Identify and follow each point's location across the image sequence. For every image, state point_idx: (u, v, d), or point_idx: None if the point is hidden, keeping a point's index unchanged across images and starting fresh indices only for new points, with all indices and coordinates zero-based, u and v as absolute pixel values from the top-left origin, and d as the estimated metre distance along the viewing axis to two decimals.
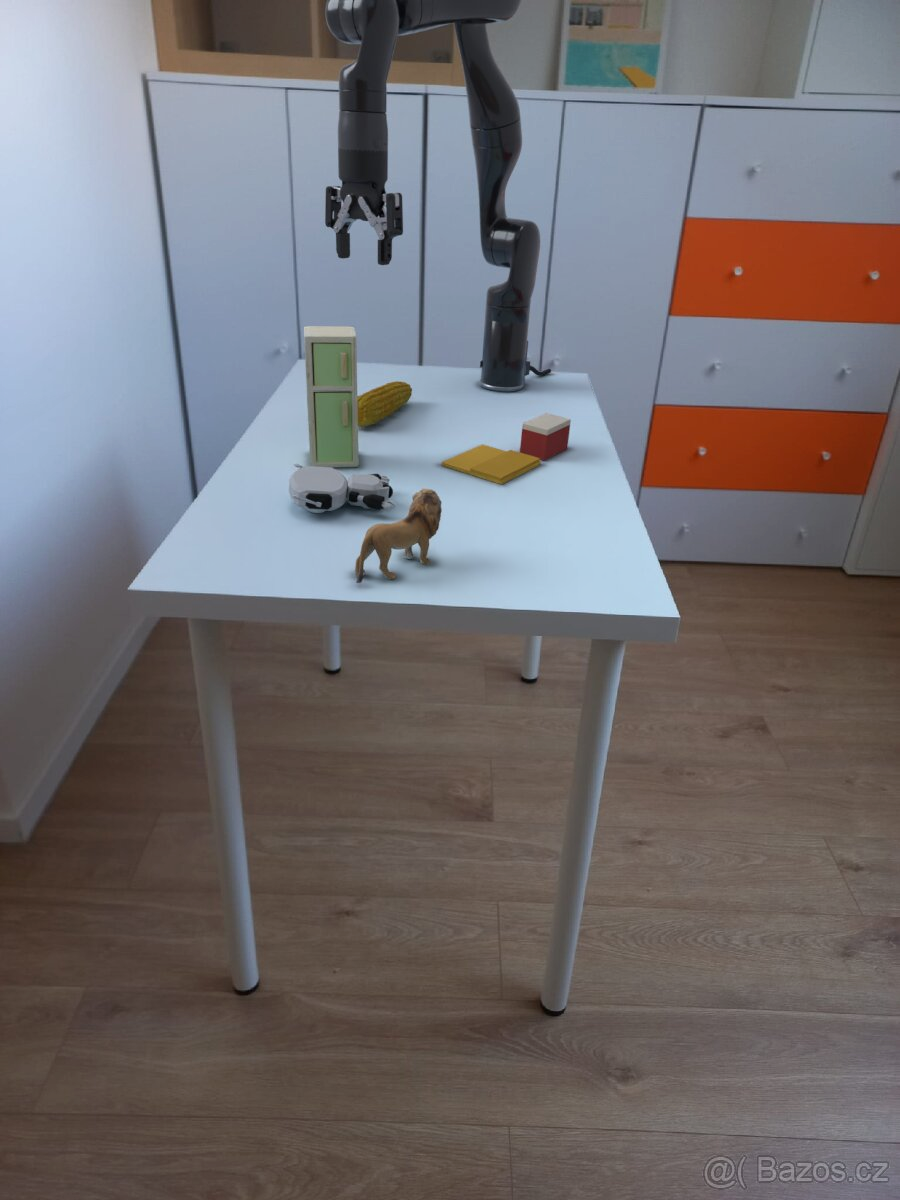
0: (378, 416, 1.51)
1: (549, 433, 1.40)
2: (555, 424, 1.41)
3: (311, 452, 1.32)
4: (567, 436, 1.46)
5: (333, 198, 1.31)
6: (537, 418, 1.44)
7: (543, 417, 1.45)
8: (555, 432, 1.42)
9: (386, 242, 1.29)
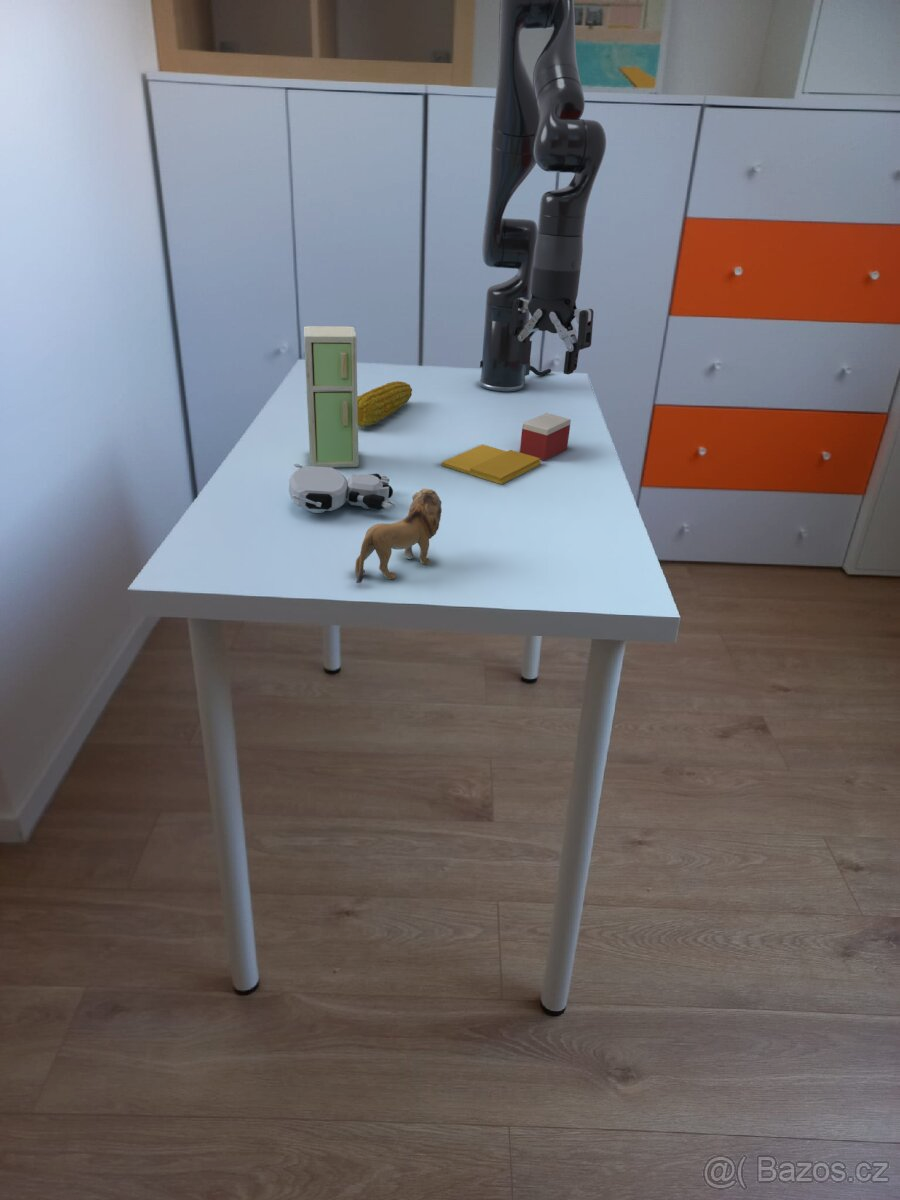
0: (378, 416, 1.51)
1: (549, 433, 1.40)
2: (555, 424, 1.41)
3: (311, 452, 1.32)
4: (567, 436, 1.46)
5: (520, 310, 1.36)
6: (537, 418, 1.44)
7: (543, 417, 1.45)
8: (555, 432, 1.42)
9: (574, 354, 1.34)
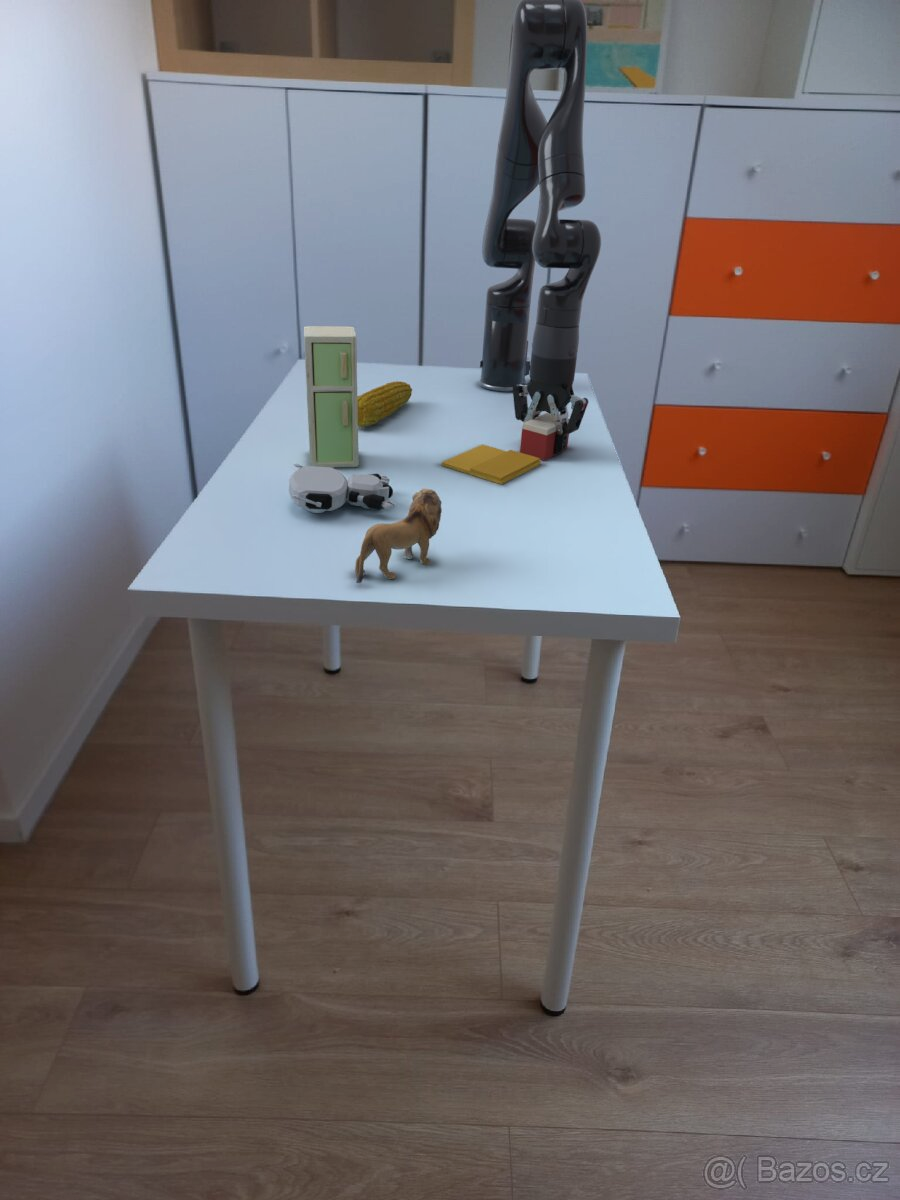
0: (378, 416, 1.51)
1: (549, 433, 1.40)
2: None
3: (311, 452, 1.32)
4: (567, 436, 1.46)
5: (521, 394, 1.43)
6: (537, 418, 1.44)
7: (543, 417, 1.45)
8: (555, 432, 1.42)
9: (563, 436, 1.42)
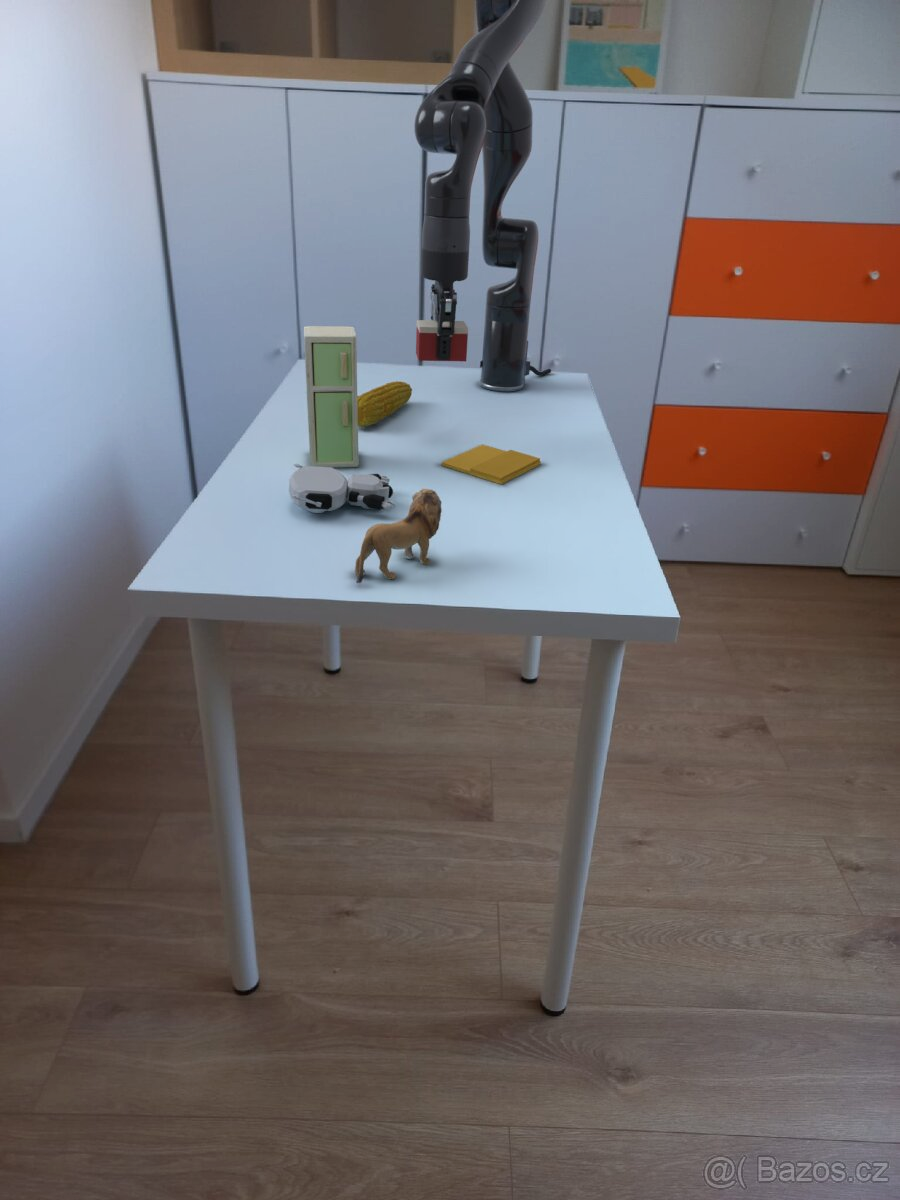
0: (378, 416, 1.51)
1: (424, 332, 1.35)
2: None
3: (311, 452, 1.32)
4: (463, 346, 1.37)
5: None
6: None
7: None
8: (436, 334, 1.36)
9: (441, 339, 1.35)
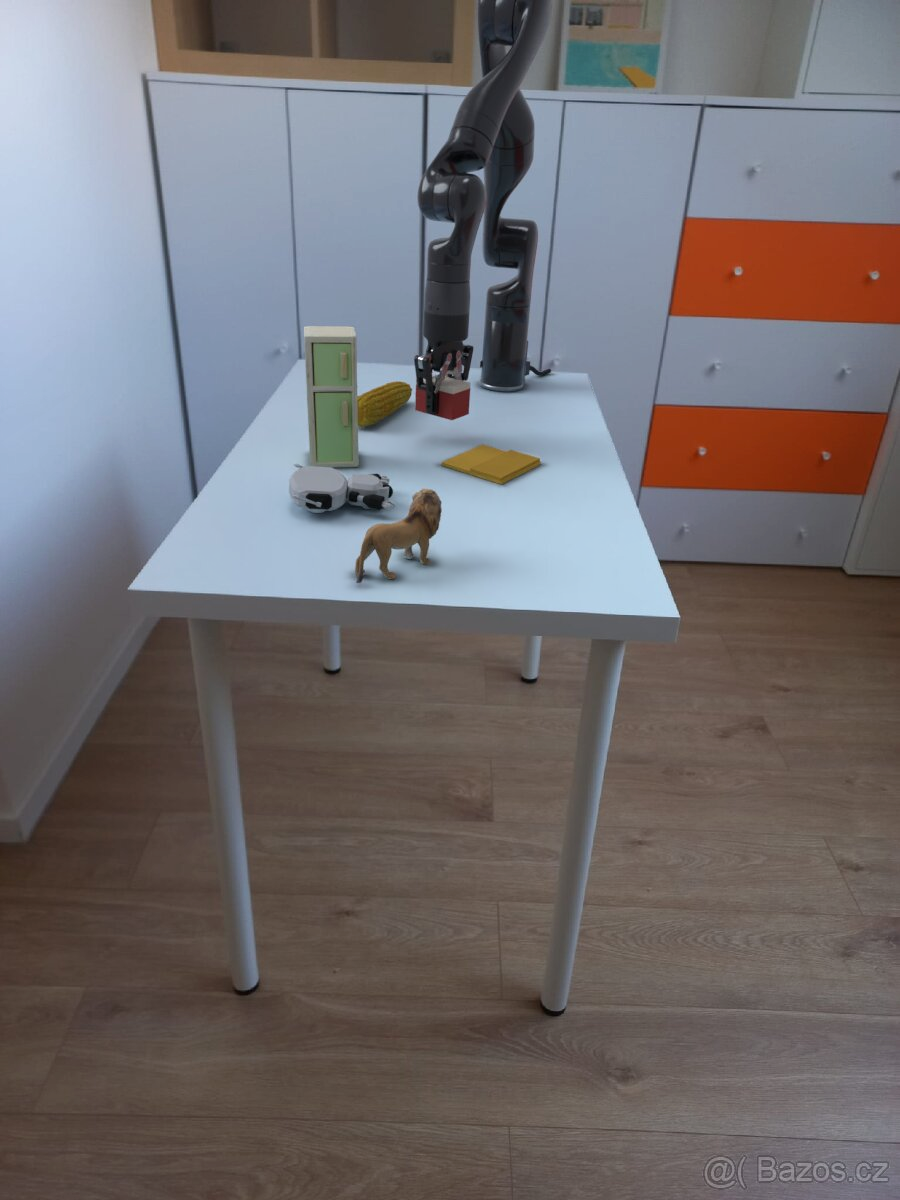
0: (378, 416, 1.51)
1: None
2: None
3: (311, 452, 1.32)
4: (450, 405, 1.40)
5: None
6: (450, 378, 1.43)
7: (453, 380, 1.42)
8: None
9: (426, 394, 1.40)
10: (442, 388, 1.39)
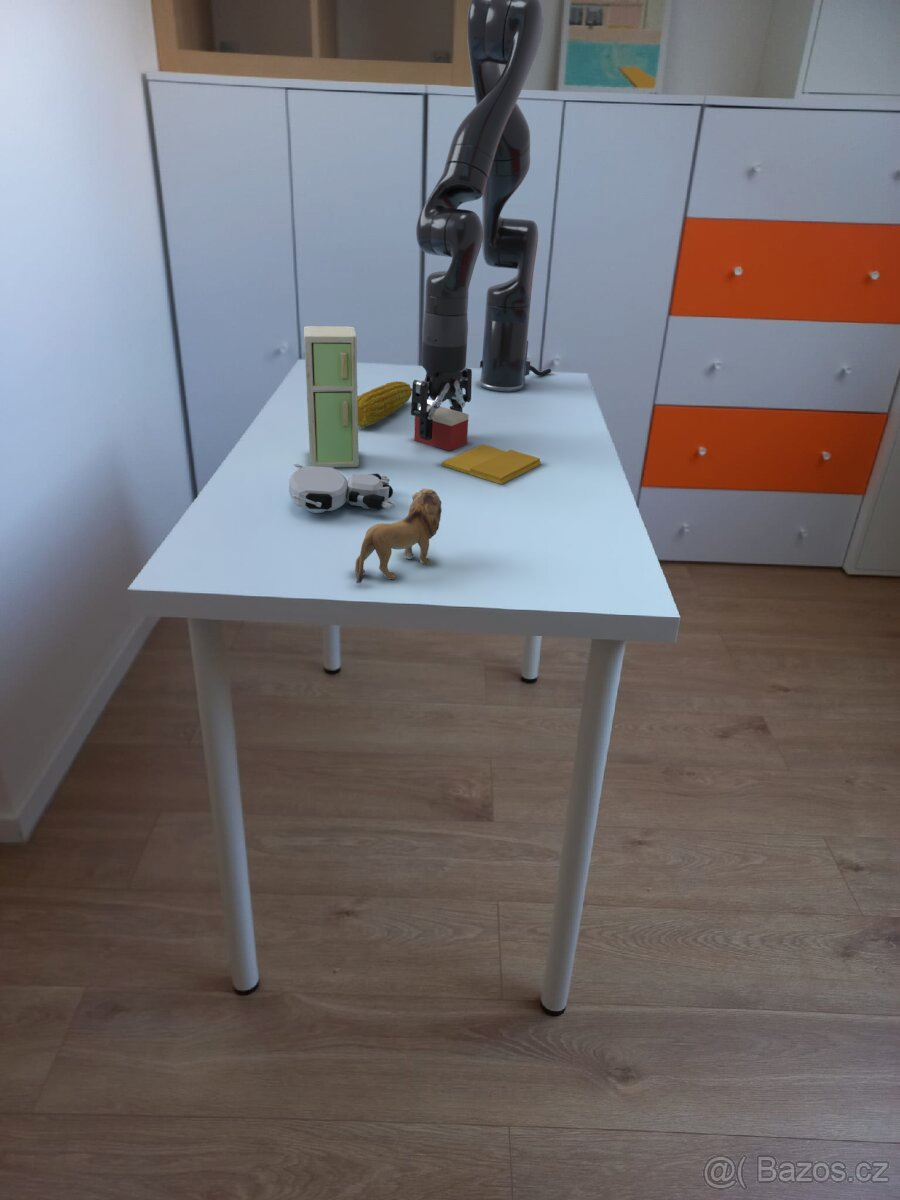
0: (378, 416, 1.51)
1: None
2: None
3: (311, 452, 1.32)
4: (448, 436, 1.42)
5: None
6: (448, 409, 1.46)
7: (452, 411, 1.45)
8: None
9: (420, 420, 1.41)
10: (440, 420, 1.42)
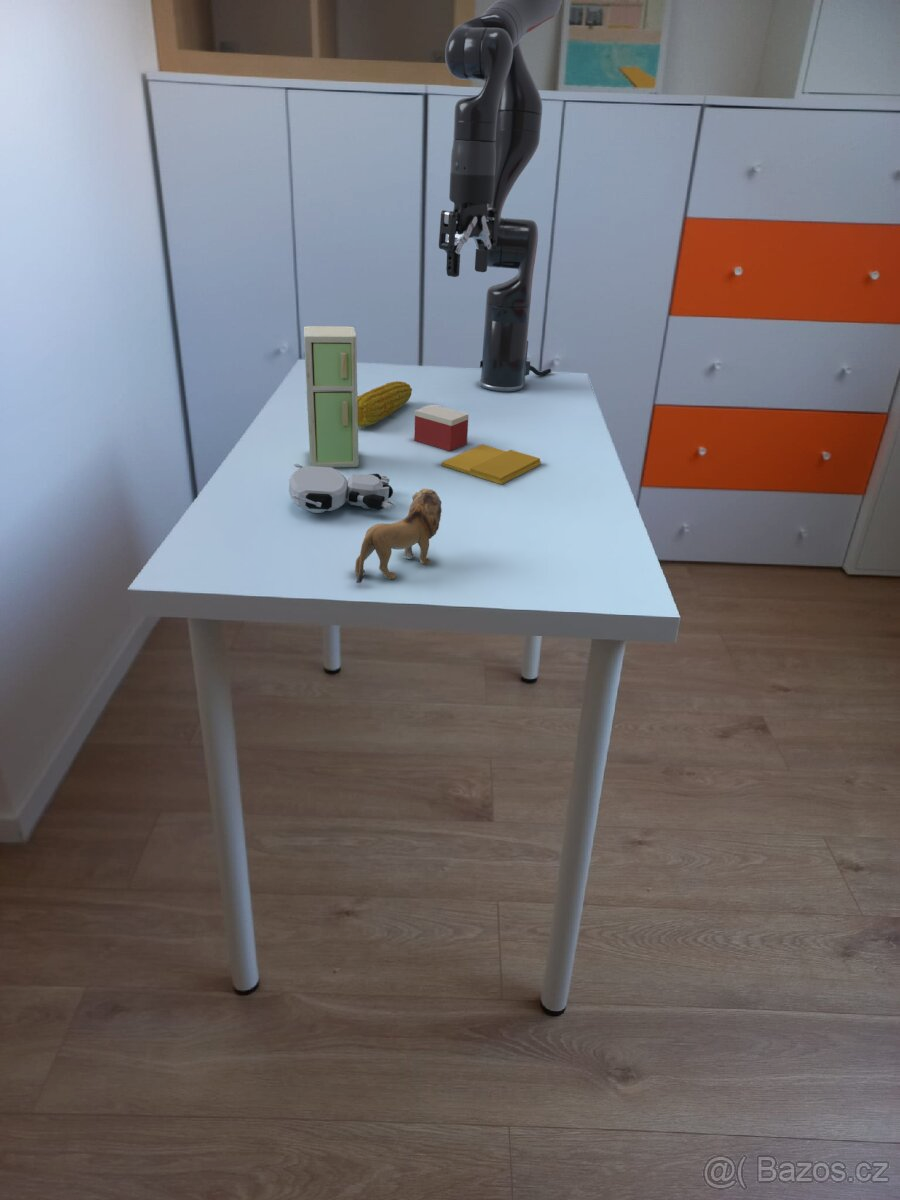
0: (378, 416, 1.51)
1: (418, 415, 1.45)
2: (430, 413, 1.43)
3: (311, 452, 1.32)
4: (448, 436, 1.42)
5: None
6: (448, 409, 1.46)
7: (452, 411, 1.45)
8: (427, 420, 1.44)
9: (447, 255, 1.42)
10: (440, 420, 1.42)
